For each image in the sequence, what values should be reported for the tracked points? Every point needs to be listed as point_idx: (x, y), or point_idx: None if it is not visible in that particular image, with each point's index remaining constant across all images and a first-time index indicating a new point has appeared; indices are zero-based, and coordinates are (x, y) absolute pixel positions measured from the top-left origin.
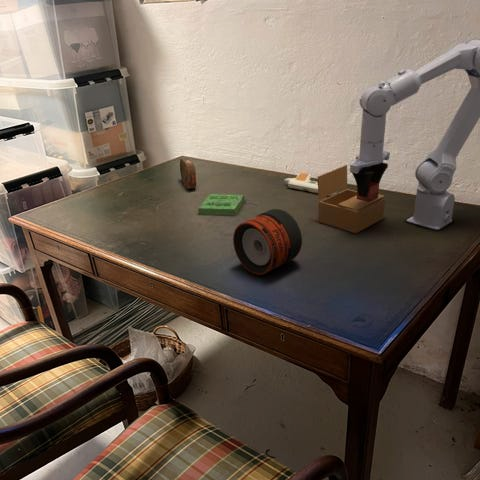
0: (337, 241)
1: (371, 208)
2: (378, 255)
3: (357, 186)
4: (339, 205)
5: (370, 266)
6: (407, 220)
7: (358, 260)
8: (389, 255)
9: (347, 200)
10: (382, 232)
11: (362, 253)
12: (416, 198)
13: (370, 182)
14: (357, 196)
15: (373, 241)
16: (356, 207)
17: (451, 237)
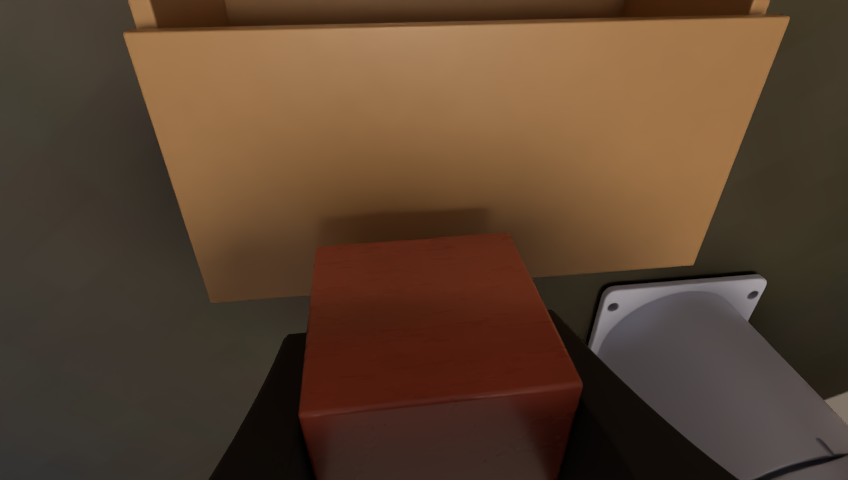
0: (38, 174)
1: None
2: (151, 409)
3: (235, 445)
4: (136, 62)
5: (35, 445)
6: (607, 298)
7: (14, 391)
8: (198, 430)
9: (339, 50)
10: None
11: (89, 361)
12: (707, 426)
13: (515, 464)
14: (314, 279)
15: (254, 315)
16: (245, 268)
17: None
